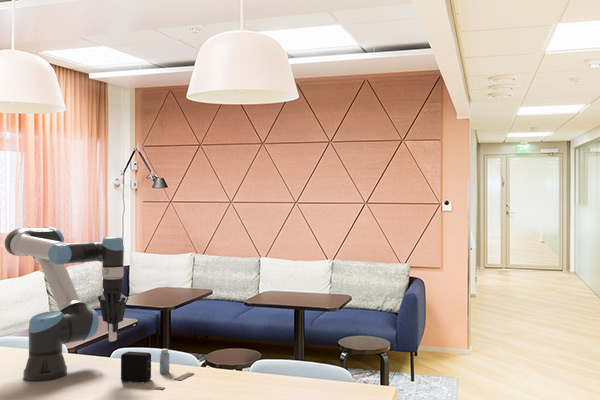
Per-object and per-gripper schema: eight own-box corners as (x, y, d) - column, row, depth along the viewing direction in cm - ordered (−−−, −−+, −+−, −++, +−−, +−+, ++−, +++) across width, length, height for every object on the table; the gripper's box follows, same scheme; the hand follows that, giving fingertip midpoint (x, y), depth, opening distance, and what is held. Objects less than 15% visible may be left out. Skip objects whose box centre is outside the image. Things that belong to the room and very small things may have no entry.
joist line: (154, 388, 196) (154, 388, 196) (187, 373, 215) (187, 372, 215) (161, 390, 195) (161, 389, 195) (194, 374, 214) (194, 373, 214)
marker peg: (157, 373, 215) (157, 350, 215) (163, 371, 218) (163, 348, 218) (165, 374, 213) (165, 351, 213) (171, 372, 216) (171, 348, 217)
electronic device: (145, 383, 203) (145, 355, 203) (120, 381, 205) (120, 354, 205) (151, 379, 207) (151, 352, 207) (126, 378, 209) (126, 351, 209)
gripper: (92, 278, 210) (92, 341, 209) (120, 279, 205) (119, 344, 204) (106, 276, 217) (106, 337, 216) (133, 277, 212) (133, 339, 211)
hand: (112, 340), depth 210 cm, fingers closed
